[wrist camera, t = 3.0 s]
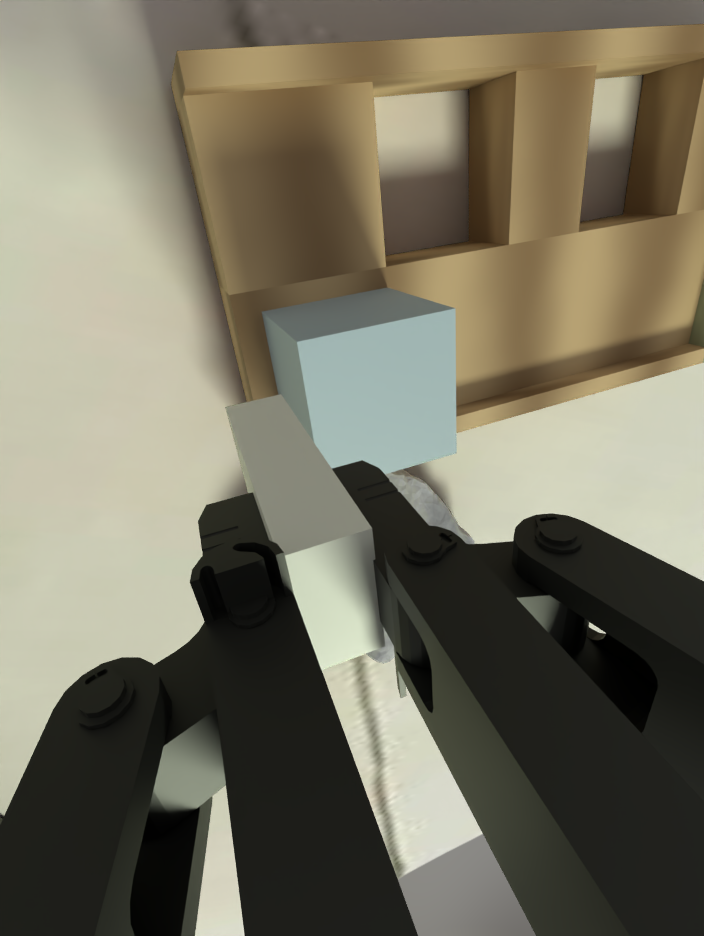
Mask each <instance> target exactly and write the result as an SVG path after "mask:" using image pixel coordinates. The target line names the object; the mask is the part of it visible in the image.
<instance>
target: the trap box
mask: <svg viewBox="0 0 704 936" xmlns="http://www.w3.org/2000/svg"><path fill="white" fill-rule="evenodd" d="M635 75H644V76H643V83H642V90H641V97H640V103H639V110H638V117H637V124H636V131H635V137H634V144H633V151H632V158H631V165H630V171H629V178H628V185H627V192H626V199H625V205H624V212H623V215H617V216H612V217H606V218H600V219H594V220H588V221H583V222H580V214H581V205H582V196H583V186H584V177H585V168H586V159H587V149H588V140H589V131H590V122H591V112H592V103H593V94H594V85H595V79H599V78H611V77H623V76H635ZM171 87H172V91H173V95H174V100H175V104H176V108H177V112H178V116H179V121H180V125H181V129H182V133H183V137H184V141H185V146H186V150H187V154H188V158H189V162H190V167H191V171H192V175H193V179H194V183H195V188H196V192H197V196H198V200H199V204H200V208H201V213H202V217H203V221H204V225H205V229H206V234H207V238H208V242H209V246H210V250H211V255H212V259H213V263H214V267H215V271H216V276H217V280H218V284H219V288H220V292H221V296H222V301H223V305H224V309H225V313H226V317H227V322H228V326H229V330H230V334H231V338H232V343H233V347H234V351H235V355H236V359H237V364H238V368H239V372H240V376H241V380H242V384H243V389H244V393H245V397H246V401H247V402H250V401H254V400H258V399H263V398H267V397H271V396H276V395H278V390H277V386H276V381H275V376H274V371H273V366H272V361H271V356H270V351H269V346H268V341H267V336H266V331H265V326H264V321H263V316H262V311H268V310H273V309H278V308H283V307H288V306H294V305H299V304H304V303H309V302H315V301H320V300H325V299H330V298H335V297H341V296H346V295H351V294H356V293H361V292H367V291H372V290H377V289H382V288H391V289H394V290H397V291H401V292H404V293H407V294H410V295H414V296H417V297H420V298H423V299H427V300H430V301H433V302H436V303H440V304H443V305H446V306H449V307H453V308H455V312H456V433H458V432H462V431H465V430H469V429H472V428H476V427H479V426H483V425H486V424H490V423H493V422H497V421H500V420H504V419H507V418H511V417H514V416H518V415H521V414H525V413H528V412H532V411H535V410H539V409H542V408H546V407H549V406H553V405H556V404H560V403H563V402H567V401H570V400H574V399H577V398H581V397H584V396H588V395H591V394H595V393H598V392H602V391H605V390H609V389H612V388H616V387H619V386H623V385H626V384H630V383H633V382H637V381H640V380H644V379H647V378H651V377H654V376H658V375H661V374H665V373H668V372H672V371H675V370H679V369H682V368H686V367H689V366H693V365H696V364H700V363H703V362H704V24H693V25H674V26H654V27H635V28H615V29H596V30H576V31H557V32H537V33H517V34H498V35H478V36H459V37H439V38H420V39H400V40H381V41H361V42H342V43H322V44H303V45H283V46H264V47H244V48H225V49H205V50H186V51H177V53H176V58H175V64H174V69H173V75H172V81H171ZM466 89H469V241H467V242H462V243H456V244H450V245H444V246H439V247H433V248H427V249H421V250H416V251H410V252H404V253H398V254H393V255H387V256H385V246H384V232H383V219H382V205H381V191H380V178H379V164H378V151H377V137H376V123H375V110H374V97H382V96H394V95H406V94H418V93H430V92H442V91H454V90H466Z"/></svg>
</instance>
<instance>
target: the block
mask: <svg viewBox="0 0 704 936" xmlns="http://www.w3.org/2000/svg"><path fill="white" fill-rule="evenodd" d="M262 316H263V321H264V326H265V331H266V336H267V341H268V346H269V351H270V356H271V361H272V366H273V371H274V376H275V381H276V386H277V390H278V395H280V394H281V395H282V396H283V398H284V399H285V401H286V402H287V403H288V405H289V406H290V408H291V409H292V411H293V412H294V414H295V415H296V417H297V418H298V420H299V421H300V423H301V424H302V426H303V427H304V429H305V430H306V432H307V433H308V434H309V436H310V437H311V439H312V440H313V442H314V443H315V445H316V446H317V448H318V449H319V451H320V452H321V454H322V455H323V457H324V458H325V460H326V461H327V463H328V464H329V465H330V467H331V468H336V467H339V466H343V465H347V464H350V463H354V462H358V461H361V460H363V461H365V462H367V463H369V464H372V465H374V466H376V467H378V468H380V469H381V470H382V472H383V473H384V474H388V473H391V472H395V471H398V470H401V469H405V468H408V467H412V466H415V465H418V464H422V463H425V462H428V461H432V460H435V459H438V458H442V457H445V456H449V455H452V454H455V453H456V312H455V308H453V307H449V306H446V305H443V304H440V303H436V302H433V301H430V300H427V299H423V298H420V297H417V296H414V295H410V294H407V293H404V292H401V291H397V290H394V289H391V288H382V289H377V290H372V291H367V292H361V293H356V294H351V295H346V296H341V297H335V298H330V299H325V300H320V301H315V302H309V303H304V304H299V305H294V306H288V307H283V308H278V309H273V310H268V311H262Z"/></svg>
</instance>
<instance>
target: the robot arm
mask: <svg viewBox="0 0 704 936" xmlns="http://www.w3.org/2000/svg"><path fill="white" fill-rule="evenodd" d="M226 411H227V415H228V419H229V422H230V426H231V430H232V434H233V438H234V441H235V445H236V449H237V453H238V457H239V460H240V464H241V468H242V472H243V476H244V479H245V483H246V487H247V491H248V494H245V495H241V496H237V497H234V498H230V499H227V500H223V501H219V502H216V503H212V504H209V505H206V507H205V509H204V511H203V513H202V515H201V517H200V518H199V520H198V524H199V531H200V538H201V546H202V551H203V557H201V559H200V560H199V561H198V563H197V564H196V565H195V567H194V568H193V569H192V574H191V579H190V584H191V586H192V589H193V592H194V594H195V597H196V600H197V602H198V605H199V608H200V610H201V613H202V616H203V618H204V621H205V622H204V624H203V626H202V627H201V629H200V630H199V632H198V633H197V634H196V635H195V636H194V637H193V638H192V639H191V640H190V641H189V642H188V643H187V644H185V645H184V646H183V647H181V648H180V649H178V650H177V651H176V652H174V653H172V654H171V655H169V656H168V657H166V658H164V659H163V660H161V661H160V662H158V663H156V664H155V665H153V664H152V663H150V662H148V661H146V660H144V659H142V658H119V659H116V660H112V661H109V662H106V663H103V664H101V665H99V666H97V667H96V668H94V669H92V670H91V671H89V672H87V673H86V674H84V675H82V676H81V677H80V678H79V679H78V680H77V681H76V682H75V683H74V684H73V685H72V686H70V687H69V688H68V689H67V690H66V691H65V693H64V694H63V696H62V697H61V699H60V700H59V702H58V703H57V705H56V706H55V708H54V709H53V711H52V713H51V716H50V718H49V720H48V722H47V724H46V726H45V729H44V731H43V733H42V735H41V737H40V740H39V742H38V744H37V746H36V748H35V750H34V753H33V755H32V757H31V759H30V761H29V763H28V766H27V768H26V770H25V772H24V774H23V777H22V779H21V781H20V783H19V785H18V787H17V790H16V792H15V794H14V796H13V798H12V800H11V803H10V805H9V807H8V809H7V811H6V813H5V816H4V818H3V819H2V818H0V936H195V929H196V922H197V914H198V906H199V899H200V891H201V883H202V876H203V868H204V860H205V853H206V845H207V837H208V830H209V822H210V814H211V807H212V796H213V795H214V794H215V793H217V792H218V791H219V790H220V789H221V788H223V787H224V786H225V785H226V789H227V797H228V805H229V813H230V821H231V829H232V837H233V845H234V853H235V861H236V869H237V877H238V885H239V893H240V901H241V909H242V917H243V925H244V933H245V936H418V935H417V932H416V929H415V926H414V923H413V921H412V918H411V915H410V912H409V910H408V907H407V904H406V901H405V899H404V896H403V893H402V890H401V888H400V885H399V882H398V879H397V877H396V874H395V871H394V868H393V866H392V863H391V860H390V857H389V855H388V852H387V849H386V846H385V844H384V841H383V838H382V835H381V833H380V830H379V827H378V824H377V822H376V819H375V816H374V813H373V811H372V808H371V805H370V802H369V799H368V797H367V794H366V791H365V788H364V786H363V783H362V780H361V777H360V775H359V772H358V769H357V766H356V764H355V761H354V758H353V755H352V753H351V750H350V747H349V744H348V742H347V739H346V736H345V733H344V731H343V728H342V725H341V722H340V720H339V717H338V714H337V711H336V709H335V706H334V703H333V700H332V698H331V695H330V692H329V689H328V687H327V684H326V681H325V678H324V676H323V673H322V670H324V669H327V668H329V667H332V666H335V665H337V664H340V663H342V662H345V661H348V660H350V659H353V658H356V657H358V656H361V655H363V654H366V653H369V652H371V651H374V650H377V649H379V648H382V647H385V638H384V629H385V631H386V633H387V635H388V636H389V638H390V640H391V642H392V644H393V646H394V654H395V664H396V674H397V684H398V689H399V693H400V697H401V698H403V697H405V696H406V687H407V689H408V691H409V693H410V694H411V696H412V698H413V700H414V702H415V704H416V706H417V708H418V710H419V712H420V714H421V716H422V718H423V719H424V721H425V723H426V725H427V727H428V729H429V731H430V733H431V735H432V737H433V739H434V741H435V742H436V744H437V746H438V748H439V750H440V752H441V754H442V756H443V758H444V760H445V762H446V764H447V765H448V767H449V769H450V771H451V773H452V775H453V777H454V779H455V781H456V783H457V785H458V787H459V789H460V790H461V792H462V794H463V796H464V798H465V800H466V802H467V804H468V806H469V808H470V810H471V812H472V813H473V815H474V817H475V819H476V821H477V823H478V825H479V827H480V829H481V831H482V833H483V835H484V836H485V838H486V840H487V842H488V844H489V846H490V848H491V850H492V852H493V854H494V856H495V858H496V860H497V861H498V863H499V865H500V867H501V869H502V871H503V873H504V875H505V877H506V879H507V881H508V882H509V884H510V886H511V888H512V890H513V892H514V894H515V896H516V898H517V900H518V902H519V904H520V906H521V907H522V909H523V911H524V913H525V915H526V917H527V919H528V921H529V923H530V925H531V927H532V928H533V931H534V932H535V934H536V936H704V581H702V580H700V579H698V578H696V577H694V576H692V575H690V574H688V573H686V572H684V571H682V570H680V569H678V568H676V567H674V566H672V565H670V564H668V563H666V562H664V561H662V560H660V559H658V558H656V557H654V556H652V555H650V554H648V553H646V552H644V551H642V550H640V549H638V548H636V547H634V546H632V545H630V544H628V543H626V542H624V541H622V540H620V539H618V538H616V537H614V536H612V535H610V534H608V533H606V532H604V531H602V530H600V529H598V528H596V527H594V526H592V525H590V524H588V523H586V522H584V521H581V520H578V519H576V518H573V517H570V516H566V515H559V514H541V515H534V516H532V517H529V518H526V519H524V520H523V521H522V522H521V523H520V524H518V525H517V526H516V529H515V533H514V541H512V542H500V543H488V544H466V543H465V542H464V541H463V540H462V538H460V537H459V536H458V535H456V534H455V533H453V532H452V531H451V530H448V529H445V528H441V527H438V526H429V525H428V524H427V523H426V521H425V520H424V519H423V518H422V517H421V516H420V514H419V513H418V512H417V511H416V510H415V509H414V508H413V506H412V505H411V504H410V503H409V502H408V501H407V499H406V498H405V497H404V496H403V495H402V494H401V492H398V489H397V488H396V487H395V486H394V484H393V483H392V482H390V480H389V479H388V477H387V476H386V475H385V474H384V473H383V472H382V470H381V469H380V468H378V467H376V466H374V465H372V464H369V463H367V462H365V461H363V460H361V461H358V462H354V463H350V464H347V465H343V466H339V467H336V468H331V467H330V465H329V464H328V463H327V461H326V460H325V458H324V457H323V455H322V454H321V452H320V451H319V449H318V448H317V446H316V445H315V443H314V442H313V440H312V439H311V437H310V436H309V434H308V433H307V432H306V430H305V429H304V427H303V426H302V424H301V423H300V421H299V420H298V418H297V417H296V415H295V414H294V412H293V411H292V409H291V408H290V406H289V405H288V403H287V402H286V401H285V399H284V398H283V396H282V395H281V394H280V395H276V396H271V397H267V398H263V399H258V400H254V401H250V402H245V403H241V404H237V405H233V406H228V407H226ZM589 622H590V623H592V624H593V625H595V626H596V627H598V628H600V629H601V630H603V631H604V632H606V634H603V633H598V632H597V631H595V630H593V629H591V628H589V627H588V626H589ZM383 627H384V629H383Z"/></svg>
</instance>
